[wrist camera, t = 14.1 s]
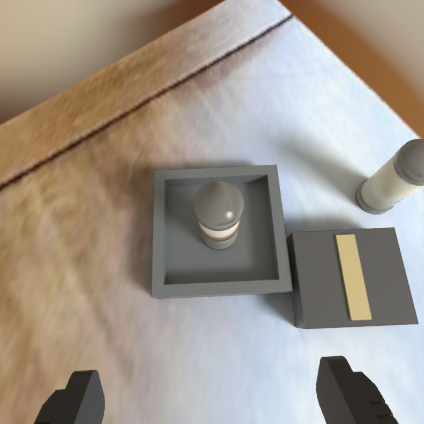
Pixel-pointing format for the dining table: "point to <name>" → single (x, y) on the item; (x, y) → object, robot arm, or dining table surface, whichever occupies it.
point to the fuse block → (349, 279)
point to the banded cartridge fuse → (218, 213)
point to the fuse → (394, 179)
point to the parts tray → (219, 259)
